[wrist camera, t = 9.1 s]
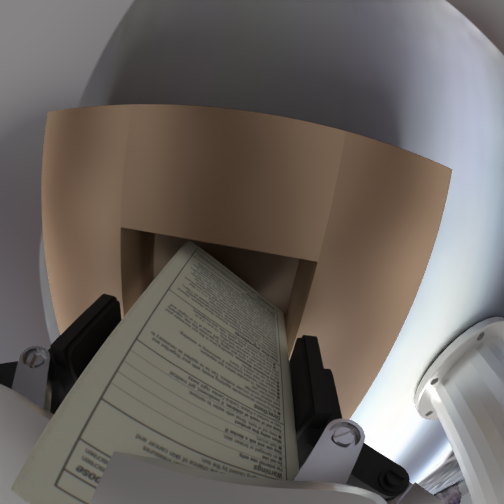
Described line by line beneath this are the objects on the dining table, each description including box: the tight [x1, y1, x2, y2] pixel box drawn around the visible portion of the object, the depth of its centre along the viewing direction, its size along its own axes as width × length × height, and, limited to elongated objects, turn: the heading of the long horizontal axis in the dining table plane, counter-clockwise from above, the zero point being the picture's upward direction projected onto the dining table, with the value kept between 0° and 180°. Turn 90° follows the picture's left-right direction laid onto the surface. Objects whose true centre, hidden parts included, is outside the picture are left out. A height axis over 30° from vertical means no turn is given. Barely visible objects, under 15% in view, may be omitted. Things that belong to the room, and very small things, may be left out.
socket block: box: [42, 104, 452, 420], centre depth 14 cm, size 18×18×5 cm
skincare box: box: [11, 241, 299, 504], centre depth 8 cm, size 6×4×12 cm
